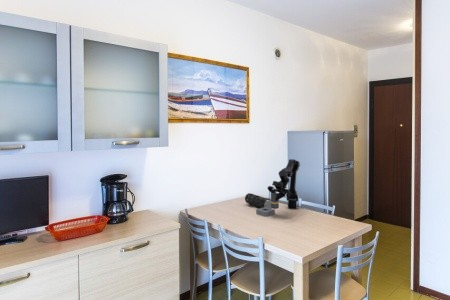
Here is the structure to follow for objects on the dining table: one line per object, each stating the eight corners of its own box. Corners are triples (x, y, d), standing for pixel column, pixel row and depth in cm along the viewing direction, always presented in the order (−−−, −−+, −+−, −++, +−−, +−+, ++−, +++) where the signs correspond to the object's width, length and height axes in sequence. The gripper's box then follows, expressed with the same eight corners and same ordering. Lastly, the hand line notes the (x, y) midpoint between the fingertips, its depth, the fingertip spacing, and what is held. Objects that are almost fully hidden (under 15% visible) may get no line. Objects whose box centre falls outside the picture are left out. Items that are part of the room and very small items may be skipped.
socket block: (264, 212, 243) (264, 207, 243) (274, 215, 236) (274, 209, 235) (256, 215, 237) (256, 209, 237) (265, 218, 229) (266, 212, 229)
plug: (274, 207, 232) (274, 192, 231) (278, 208, 228) (278, 193, 228) (270, 207, 229) (270, 193, 228) (275, 209, 226) (275, 194, 225)
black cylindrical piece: (253, 203, 273) (253, 192, 273) (273, 210, 249) (273, 198, 249) (244, 205, 269) (244, 193, 268) (264, 212, 244) (264, 199, 244)
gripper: (268, 175, 237) (259, 191, 230) (288, 178, 222) (278, 195, 216) (275, 184, 242) (266, 200, 236) (295, 187, 228) (285, 204, 222)
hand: (273, 200), depth 227 cm, fingers closed on plug, 4 cm apart
